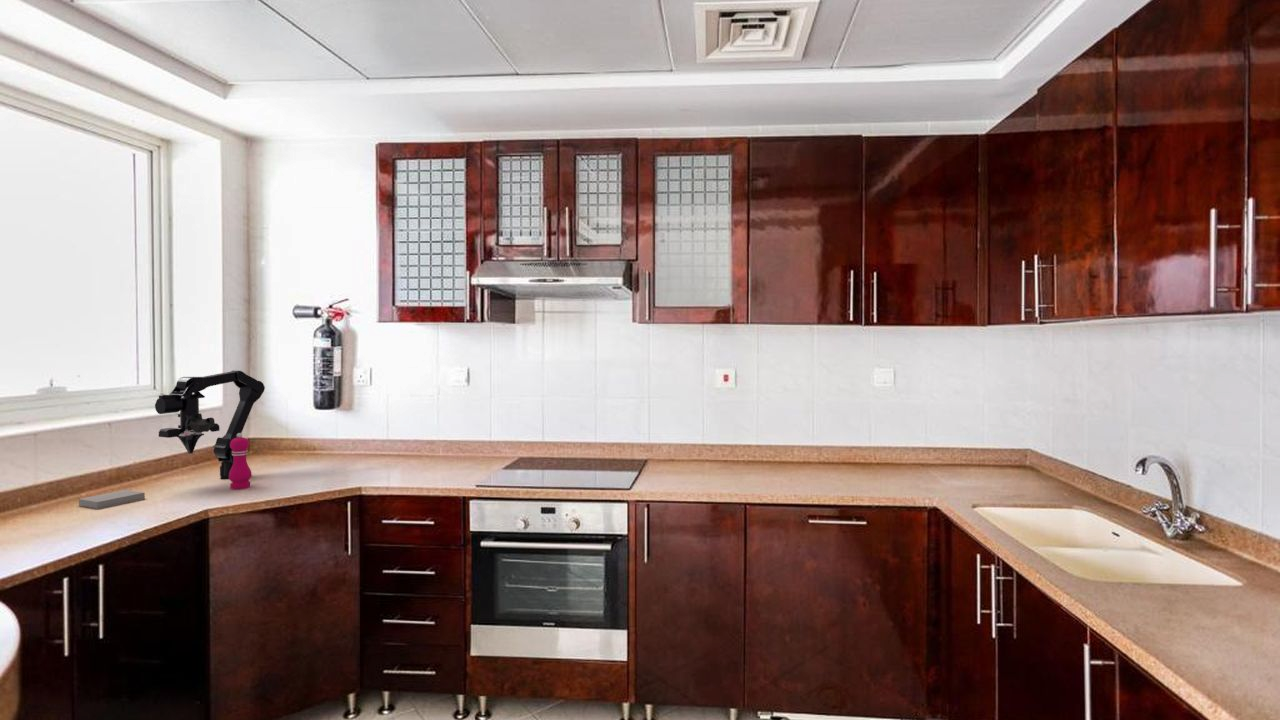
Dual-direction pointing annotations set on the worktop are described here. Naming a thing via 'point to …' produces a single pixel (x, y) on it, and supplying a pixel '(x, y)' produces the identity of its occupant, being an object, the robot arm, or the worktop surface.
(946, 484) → the worktop surface
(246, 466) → the pepper mill
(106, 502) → the tile
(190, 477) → the worktop surface
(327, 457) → the worktop surface
